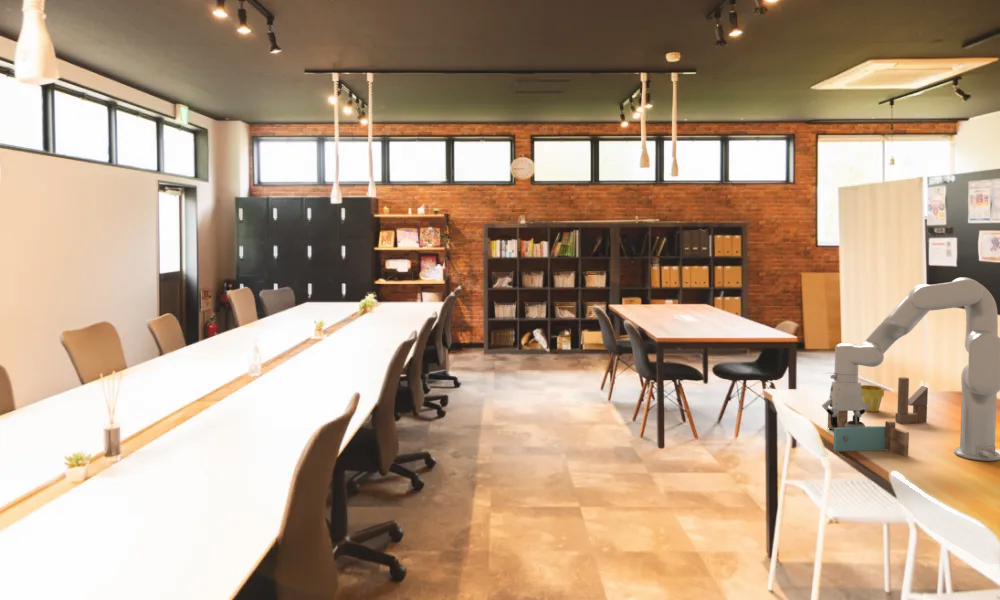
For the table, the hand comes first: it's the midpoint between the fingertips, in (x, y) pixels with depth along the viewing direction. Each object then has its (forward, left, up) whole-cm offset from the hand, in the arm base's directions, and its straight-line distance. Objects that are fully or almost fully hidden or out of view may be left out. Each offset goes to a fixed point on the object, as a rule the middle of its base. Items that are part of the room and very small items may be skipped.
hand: (844, 426), depth 246 cm
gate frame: (+1, -8, -6) cm, 10 cm away
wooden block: (+28, -37, -6) cm, 47 cm away
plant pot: (+49, -30, -6) cm, 57 cm away
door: (-9, -1, -6) cm, 11 cm away
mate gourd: (-4, -2, -5) cm, 7 cm away
